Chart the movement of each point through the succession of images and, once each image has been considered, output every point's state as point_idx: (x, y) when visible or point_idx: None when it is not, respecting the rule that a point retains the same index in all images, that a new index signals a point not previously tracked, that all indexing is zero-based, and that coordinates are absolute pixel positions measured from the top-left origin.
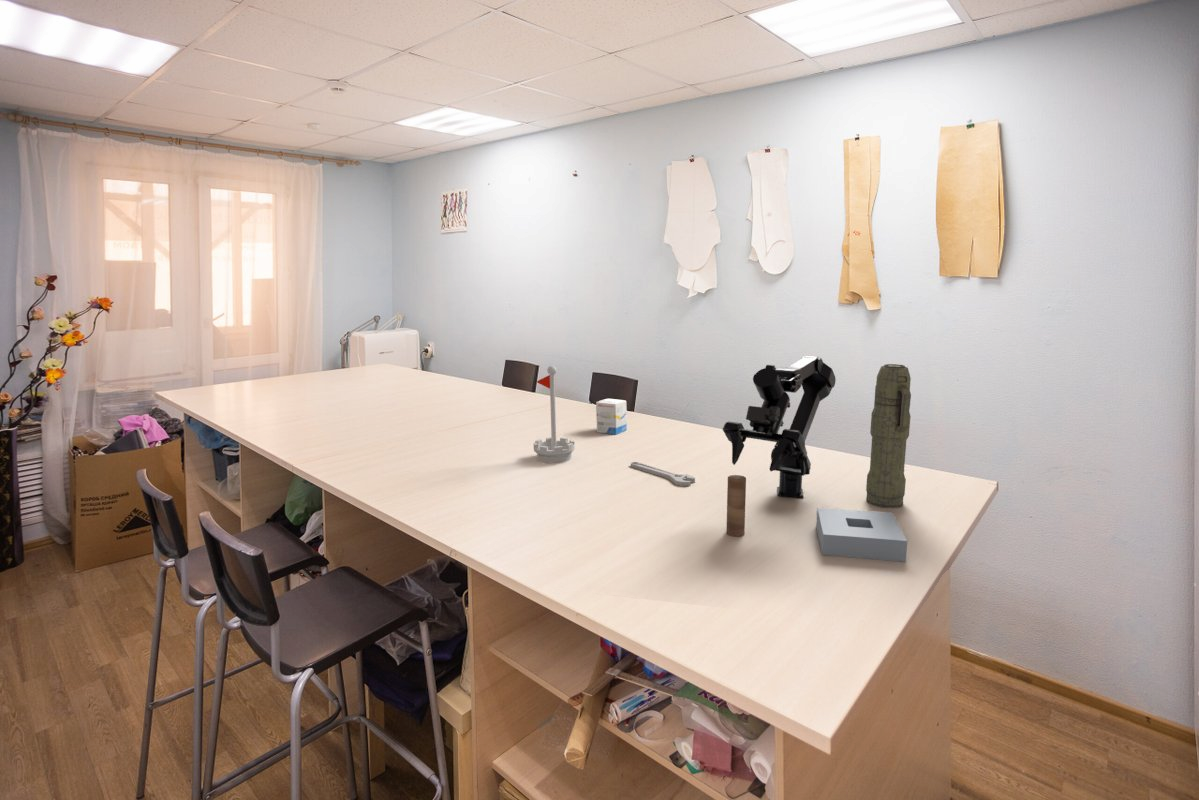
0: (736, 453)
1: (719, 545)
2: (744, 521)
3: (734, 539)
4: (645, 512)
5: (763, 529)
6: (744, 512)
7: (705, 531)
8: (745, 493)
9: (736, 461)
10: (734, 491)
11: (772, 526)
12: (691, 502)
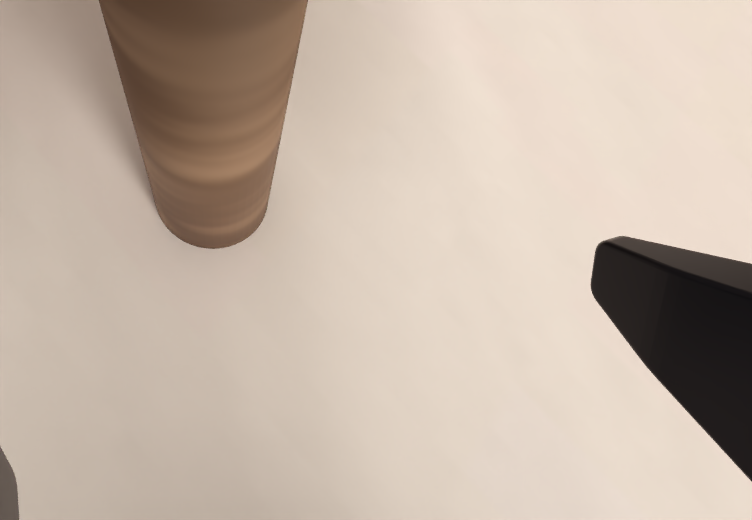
0: (734, 318)
1: None
2: (151, 184)
3: None
4: (696, 71)
5: (128, 379)
6: (140, 148)
7: (338, 95)
8: (123, 76)
9: (632, 335)
10: None
11: (119, 476)
12: None
